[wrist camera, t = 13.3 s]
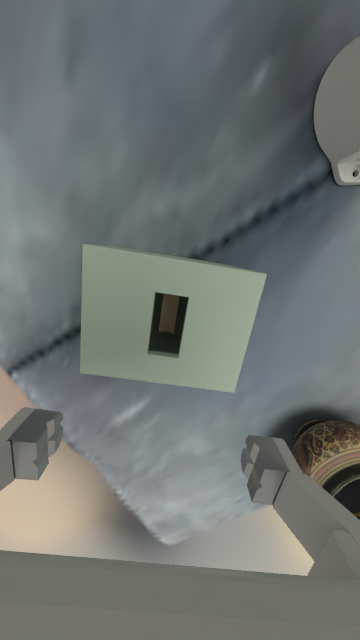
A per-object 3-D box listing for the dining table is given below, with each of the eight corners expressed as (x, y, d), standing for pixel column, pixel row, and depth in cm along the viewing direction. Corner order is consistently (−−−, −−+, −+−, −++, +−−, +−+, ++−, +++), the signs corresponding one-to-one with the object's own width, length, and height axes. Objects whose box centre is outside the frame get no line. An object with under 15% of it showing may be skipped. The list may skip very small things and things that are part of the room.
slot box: (232, 265, 35) (267, 274, 21) (214, 344, 39) (234, 392, 25) (120, 246, 33) (82, 243, 20) (114, 329, 38) (80, 373, 24)
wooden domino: (178, 286, 34) (179, 296, 27) (174, 315, 36) (173, 332, 28) (166, 284, 34) (163, 293, 27) (162, 313, 36) (158, 330, 28)
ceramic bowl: (268, 464, 52) (308, 553, 39) (246, 430, 43) (289, 531, 30) (368, 424, 49) (448, 506, 36) (367, 378, 40) (473, 465, 27)
